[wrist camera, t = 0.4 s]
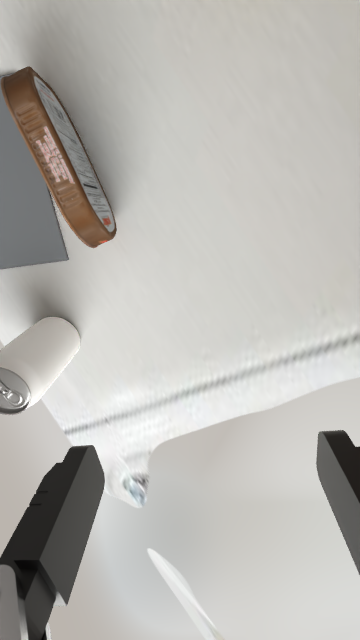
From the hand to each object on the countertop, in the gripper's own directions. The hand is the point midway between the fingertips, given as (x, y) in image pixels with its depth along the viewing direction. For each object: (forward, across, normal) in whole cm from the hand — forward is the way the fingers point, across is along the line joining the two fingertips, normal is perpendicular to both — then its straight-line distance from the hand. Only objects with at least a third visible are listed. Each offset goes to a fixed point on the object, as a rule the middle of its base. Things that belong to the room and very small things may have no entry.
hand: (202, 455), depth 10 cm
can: (+26, +20, +6) cm, 33 cm away
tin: (+27, +11, -12) cm, 31 cm away
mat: (+26, +20, -12) cm, 36 cm away
